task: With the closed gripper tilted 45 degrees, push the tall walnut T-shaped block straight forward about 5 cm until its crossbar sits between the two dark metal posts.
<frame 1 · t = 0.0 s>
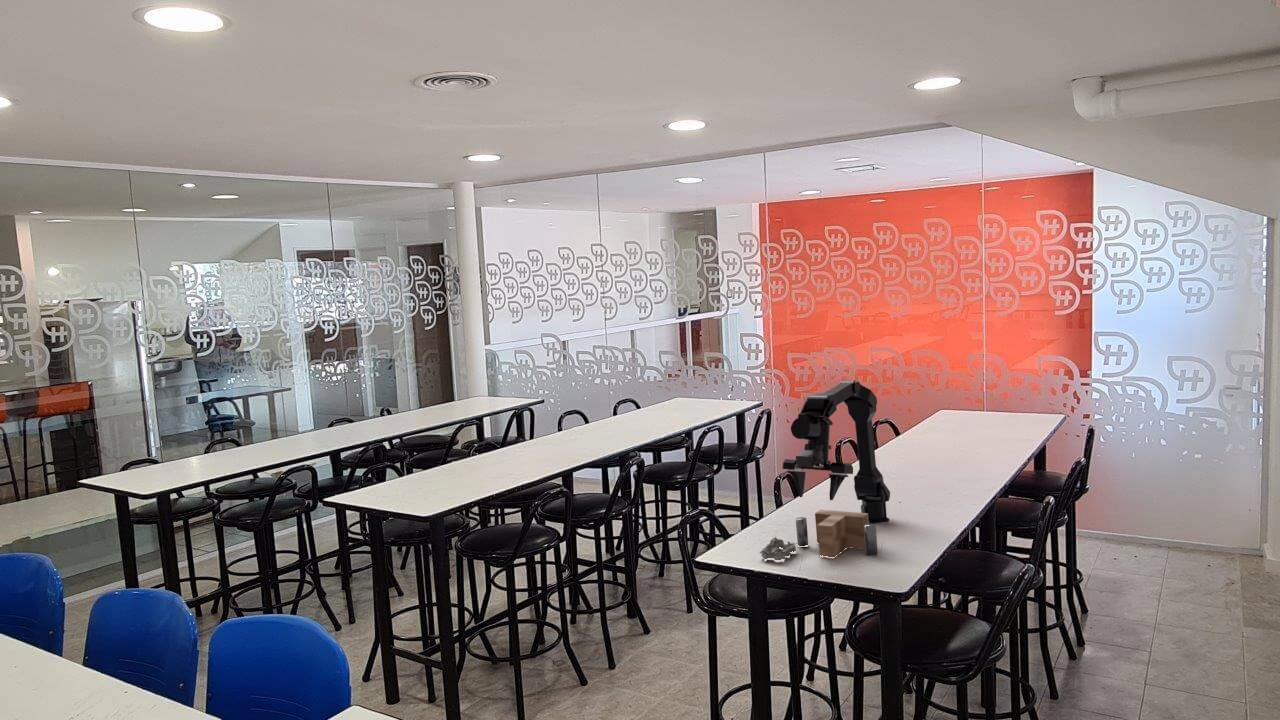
hand: (815, 498, 231), 15 cm above the table, tool pointing down, fingers open, 9 cm apart
goal posts: (836, 550, 234), on the table
walnut T block: (843, 544, 238), on the table
grey jagged rock: (779, 557, 234), on the table
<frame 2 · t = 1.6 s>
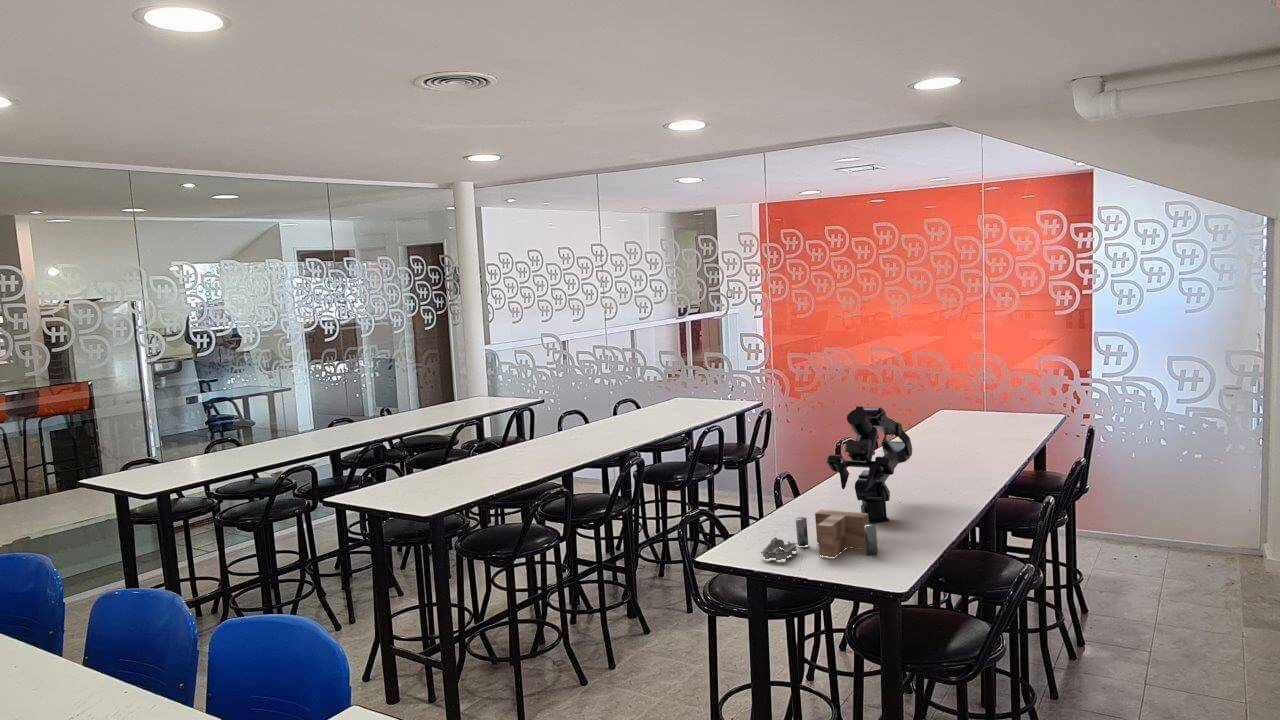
hand: (854, 489, 246), 13 cm above the table, tool tilted 45°, fingers open, 7 cm apart
nothing on the table moved.
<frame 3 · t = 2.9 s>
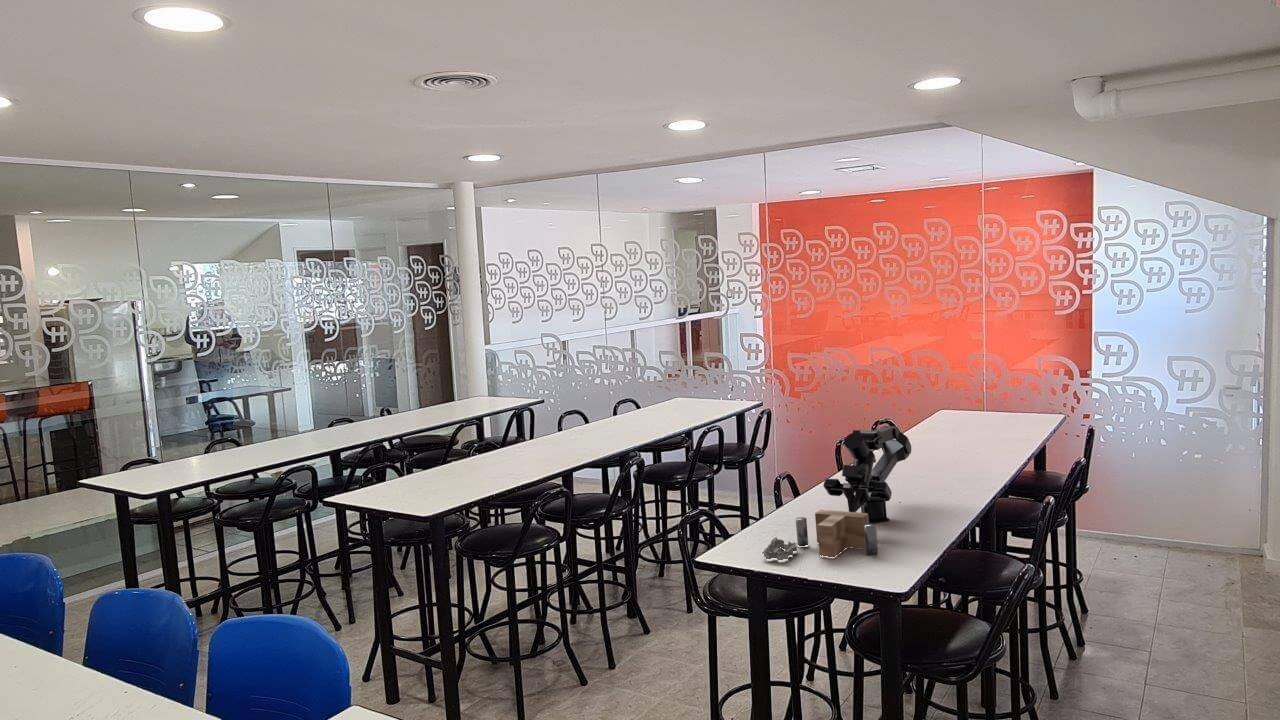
hand: (851, 514, 243), 7 cm above the table, tool tilted 45°, fingers closed
nothing on the table moved.
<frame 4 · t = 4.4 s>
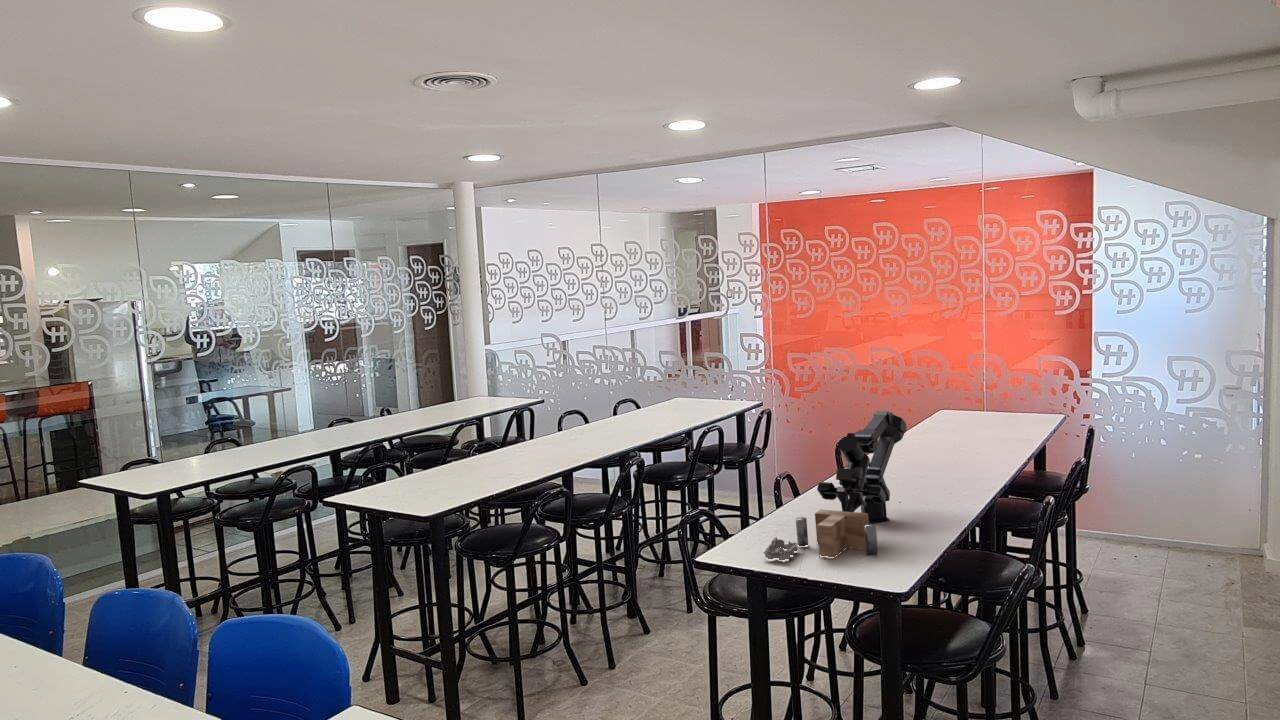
hand: (844, 518, 240), 7 cm above the table, tool tilted 45°, fingers closed, pressing on walnut T block
walnut T block: (843, 544, 238), on the table, touching gripper
everything else where it was.
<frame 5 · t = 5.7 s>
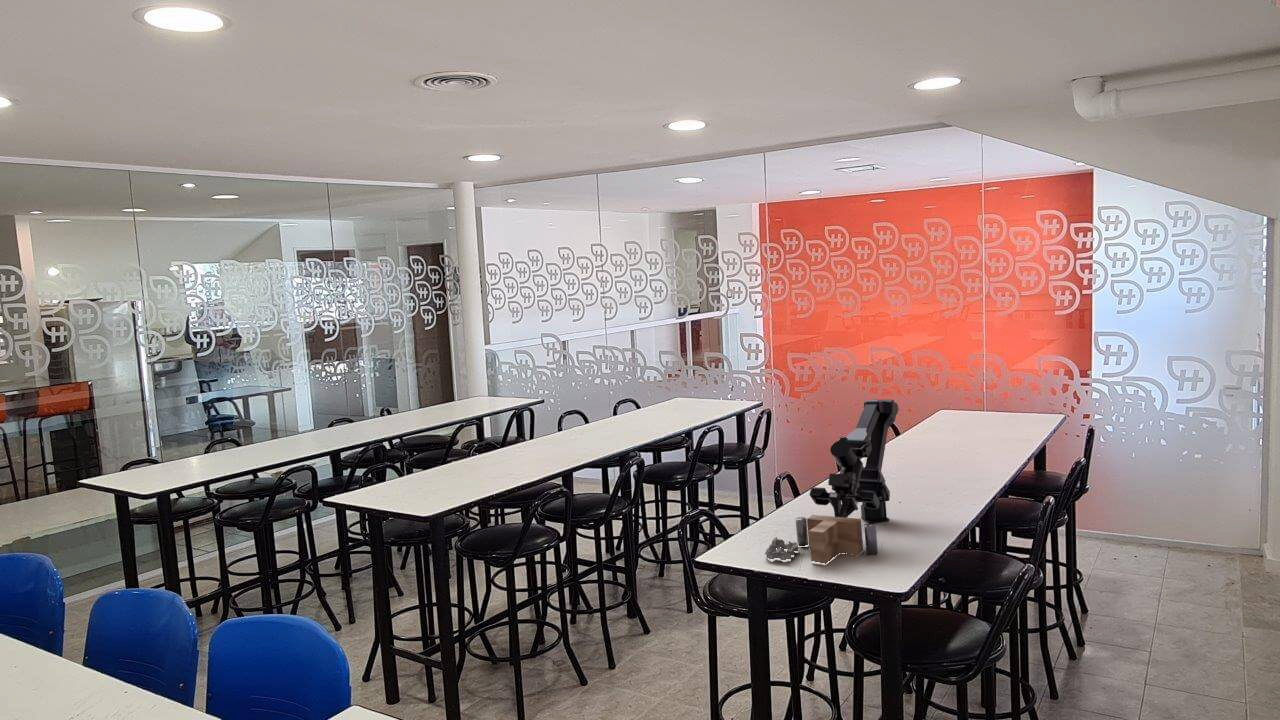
hand: (837, 524, 235), 7 cm above the table, tool tilted 45°, fingers closed, pressing on walnut T block
walnut T block: (836, 550, 234), on the table, touching gripper
everything else where it was.
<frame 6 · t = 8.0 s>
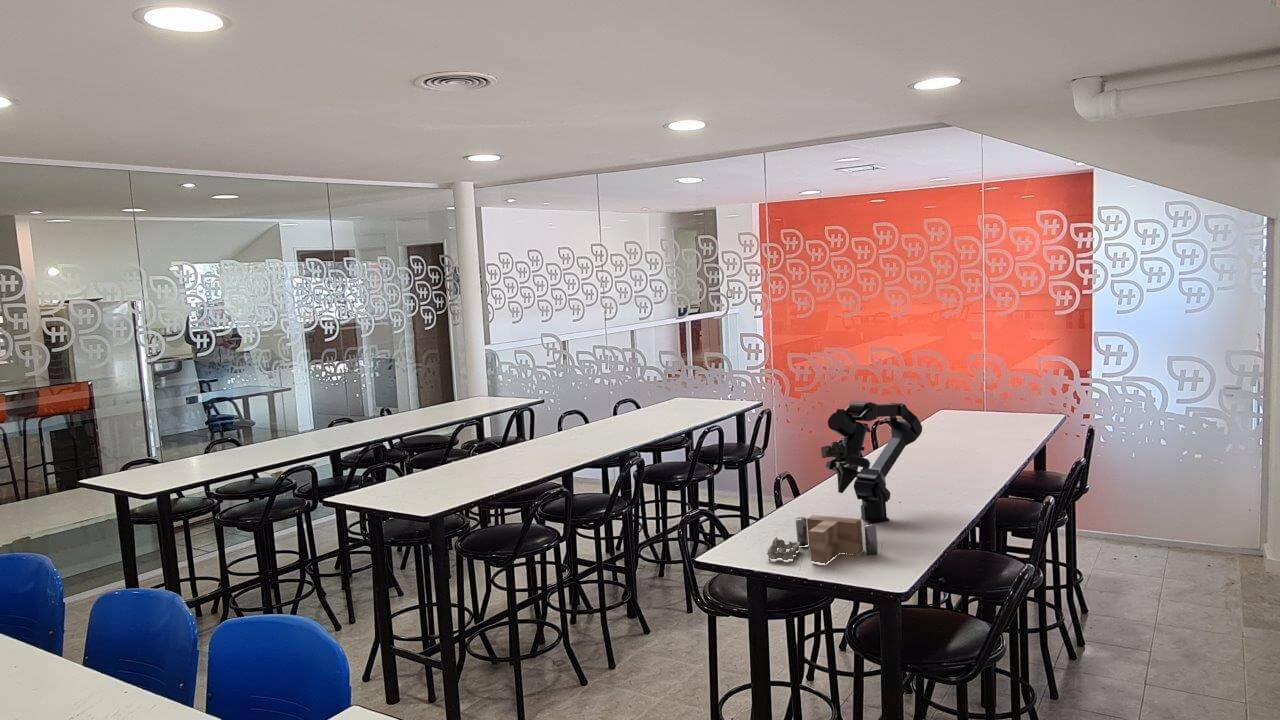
hand: (840, 492, 248), 12 cm above the table, tool tilted 30°, fingers closed
walnut T block: (836, 550, 234), on the table
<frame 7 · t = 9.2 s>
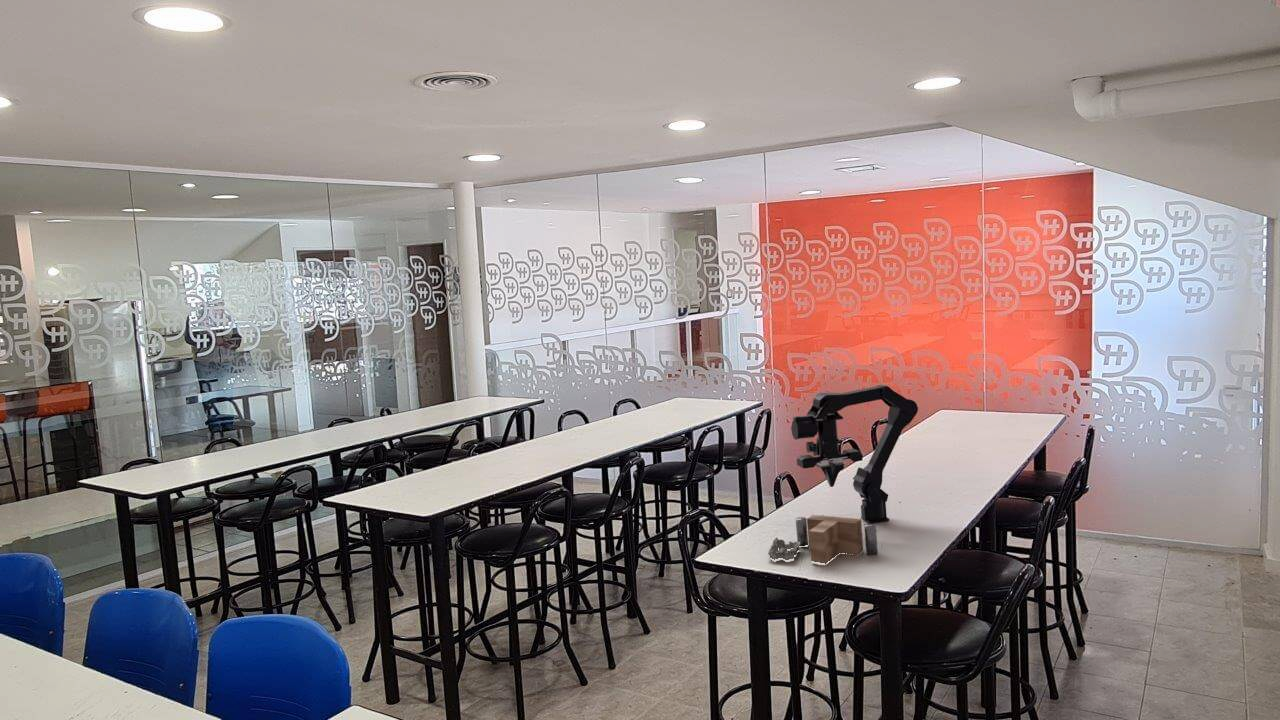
hand: (831, 486, 256), 12 cm above the table, tool pointing down, fingers closed
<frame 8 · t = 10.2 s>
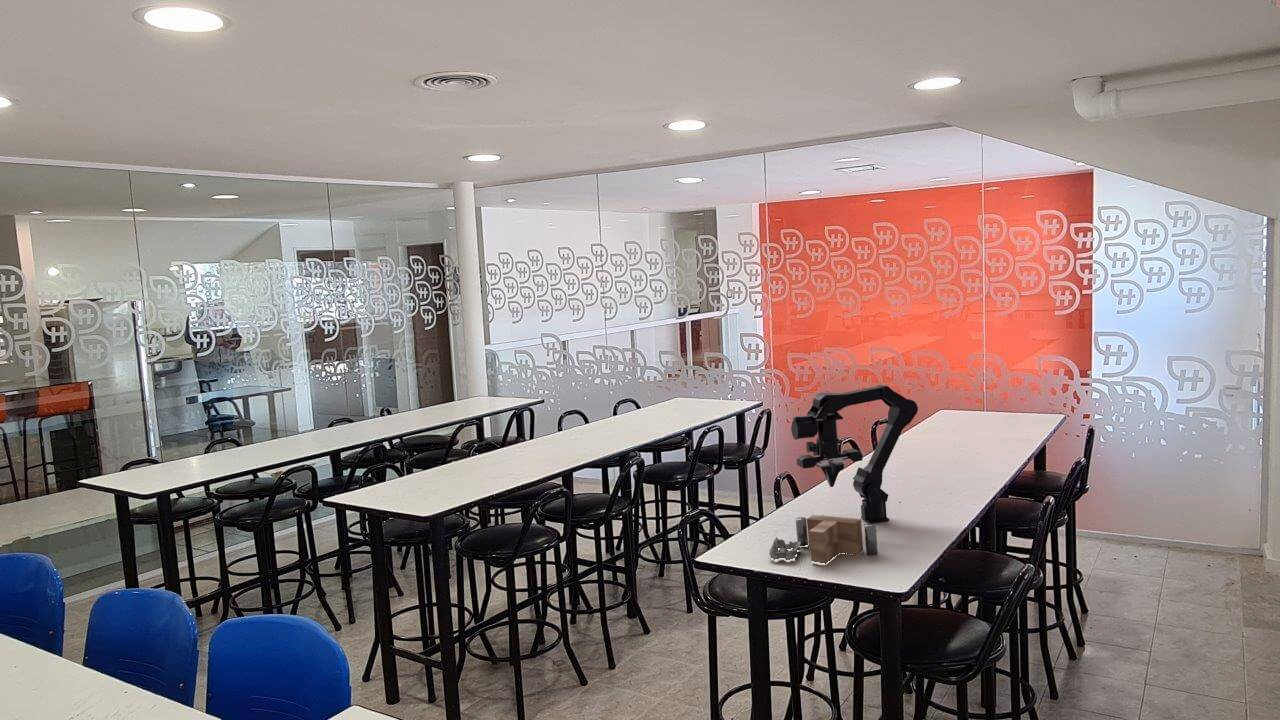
hand: (831, 486, 256), 12 cm above the table, tool pointing down, fingers closed
at the end: walnut T block 0.1 cm from the target spot, on the table; walnut T block tilted 0° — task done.
